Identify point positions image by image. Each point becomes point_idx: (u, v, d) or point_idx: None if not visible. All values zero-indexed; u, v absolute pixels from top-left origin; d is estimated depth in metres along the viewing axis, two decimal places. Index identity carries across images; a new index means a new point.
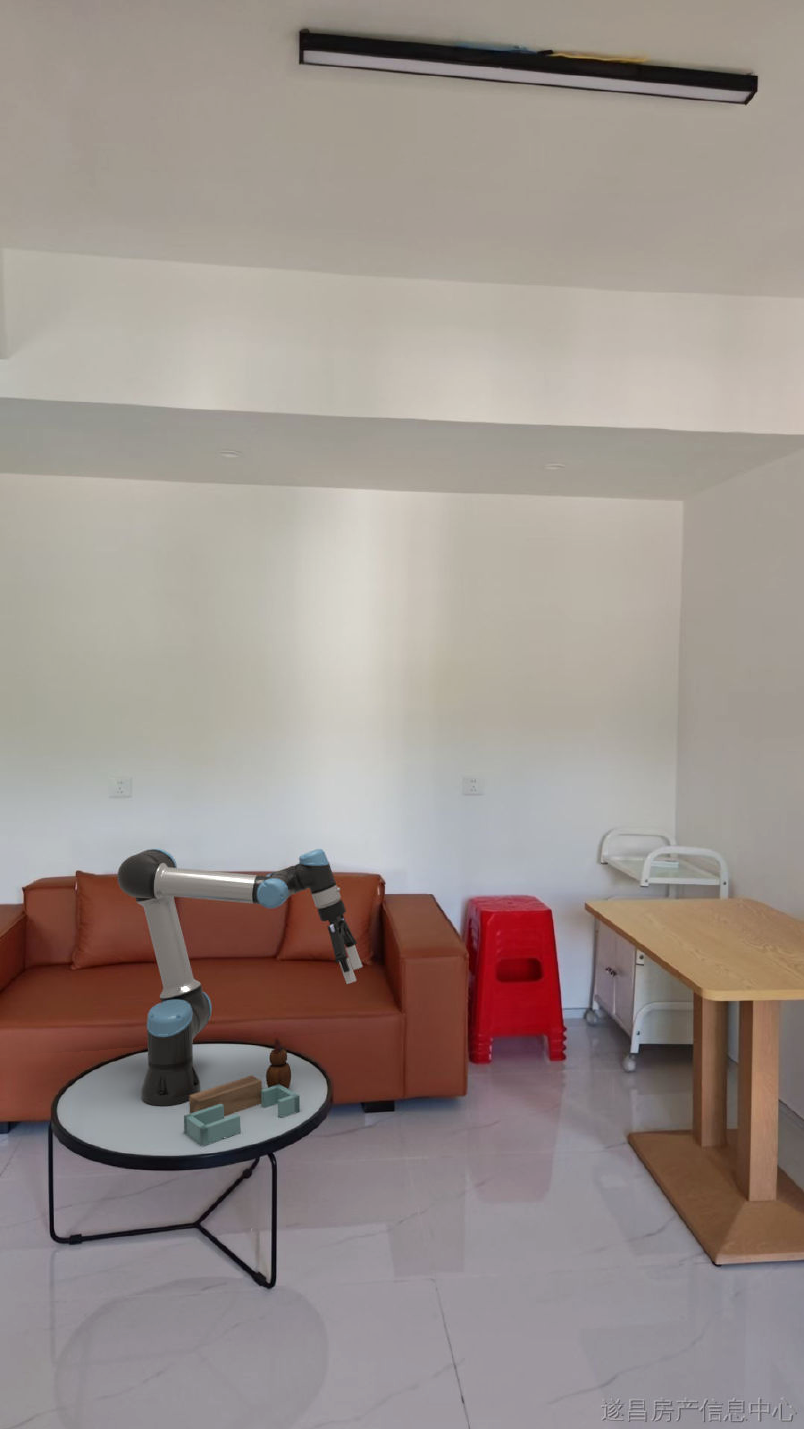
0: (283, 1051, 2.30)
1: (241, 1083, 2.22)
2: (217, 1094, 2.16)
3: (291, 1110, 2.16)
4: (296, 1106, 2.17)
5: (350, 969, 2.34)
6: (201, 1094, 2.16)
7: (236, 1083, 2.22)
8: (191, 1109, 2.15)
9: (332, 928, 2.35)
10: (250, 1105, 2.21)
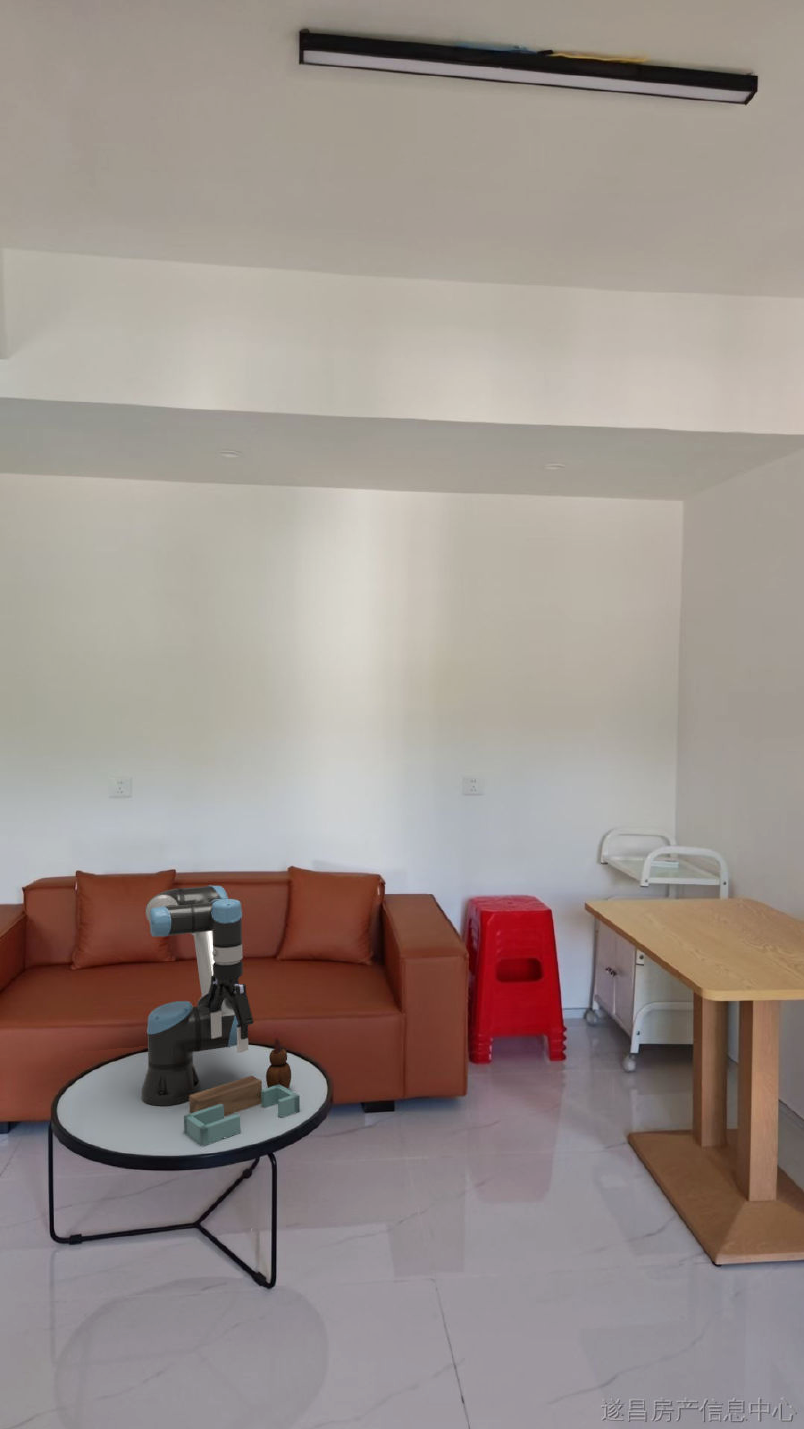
0: (283, 1051, 2.30)
1: (241, 1083, 2.22)
2: (217, 1094, 2.16)
3: (291, 1110, 2.16)
4: (296, 1106, 2.17)
5: None
6: (201, 1094, 2.16)
7: (236, 1083, 2.22)
8: (191, 1109, 2.15)
9: None
10: (250, 1105, 2.21)
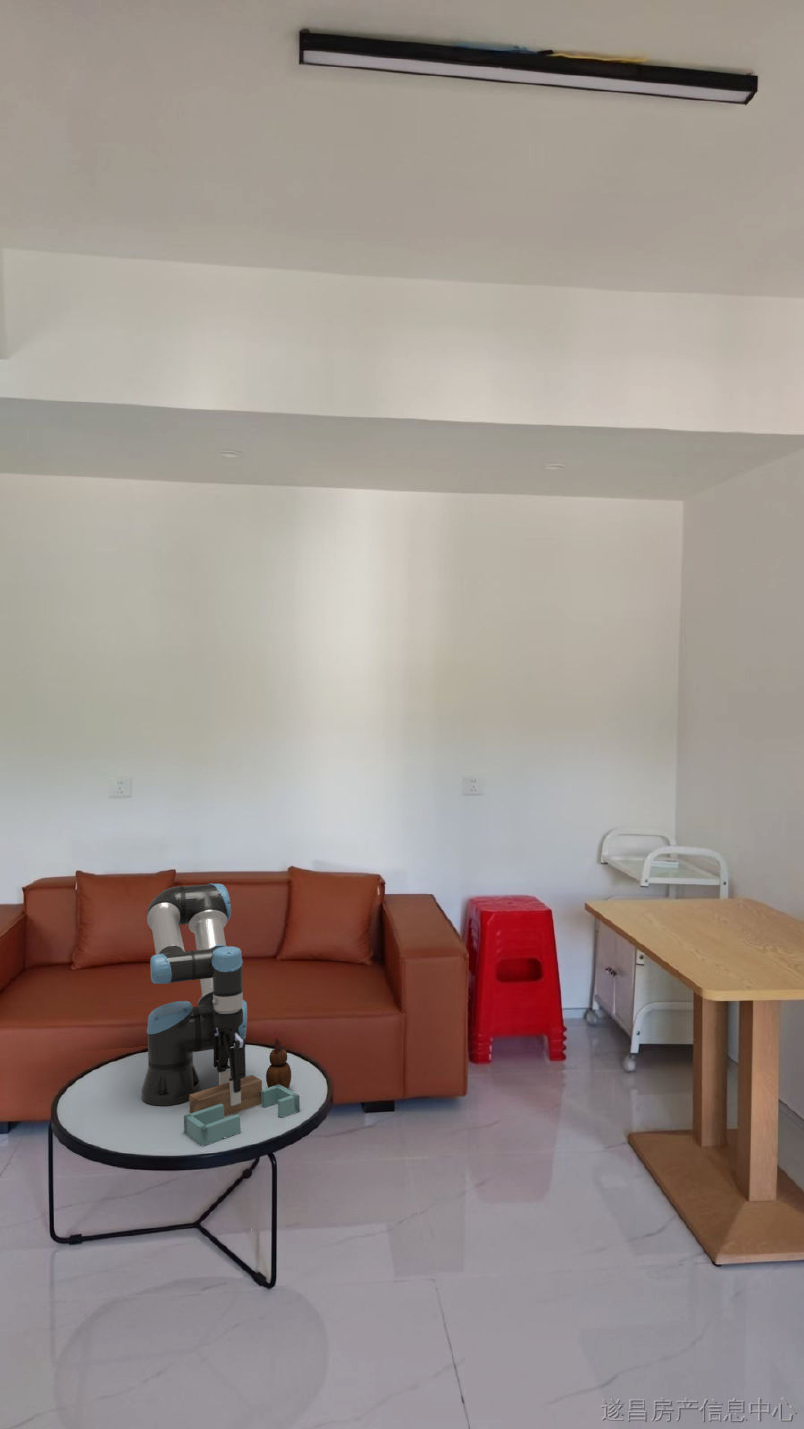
0: (283, 1051, 2.30)
1: (241, 1083, 2.22)
2: (217, 1093, 2.16)
3: (291, 1110, 2.16)
4: (296, 1106, 2.17)
5: None
6: (201, 1093, 2.16)
7: None
8: (191, 1108, 2.15)
9: None
10: (250, 1104, 2.21)
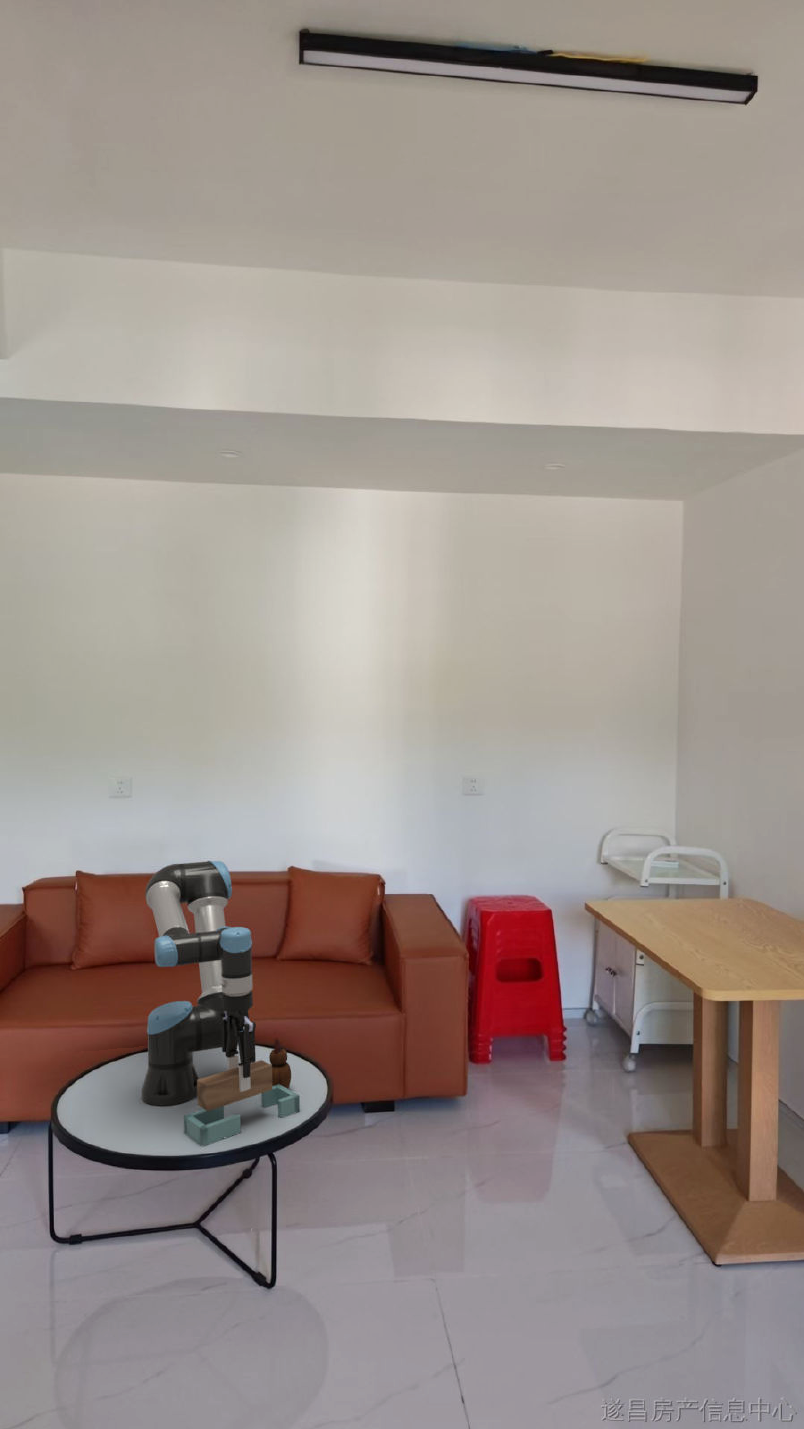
0: (283, 1051, 2.30)
1: (250, 1068, 2.14)
2: (226, 1078, 2.08)
3: (291, 1110, 2.16)
4: (296, 1106, 2.17)
5: None
6: (209, 1078, 2.08)
7: None
8: (199, 1094, 2.07)
9: None
10: (260, 1090, 2.13)
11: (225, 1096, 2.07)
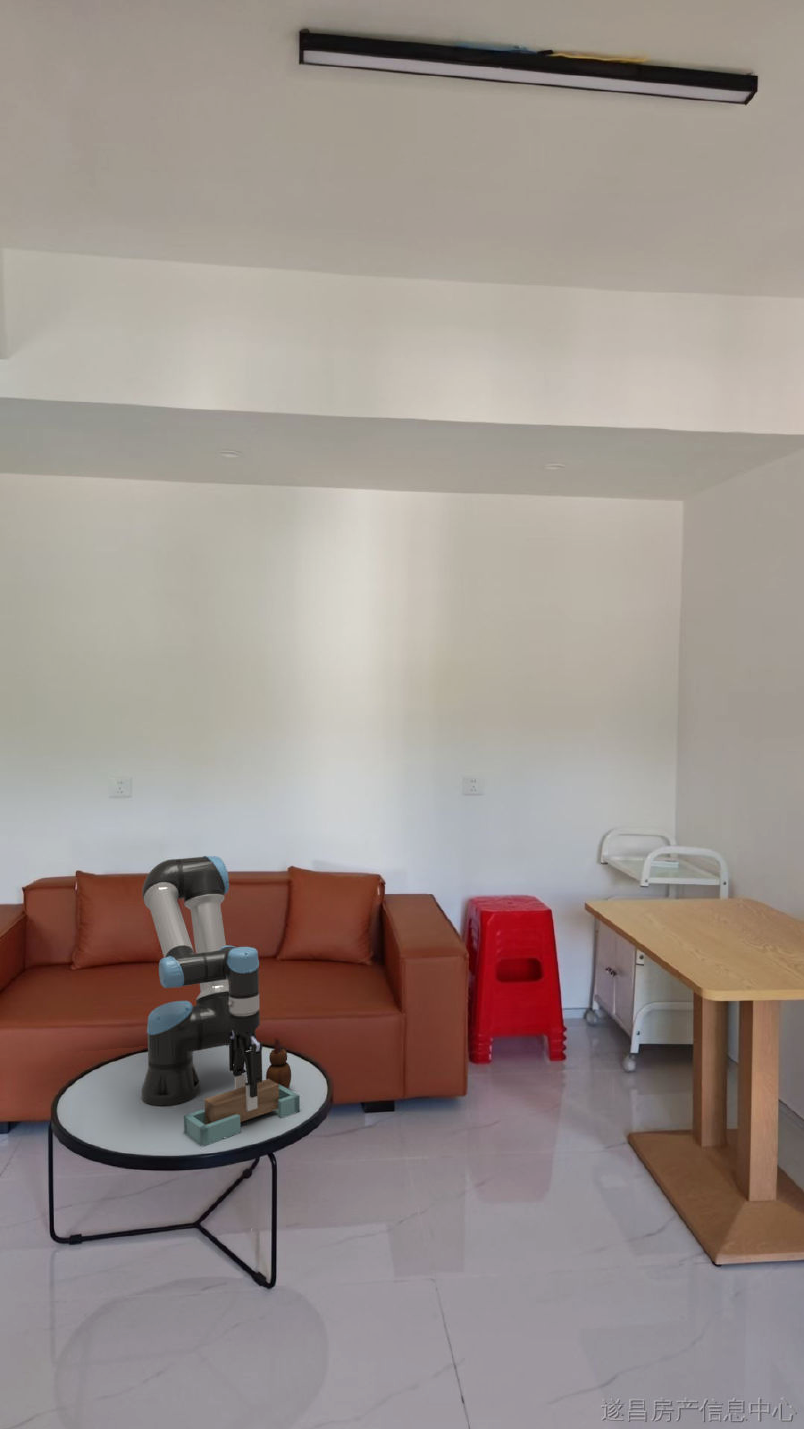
0: (283, 1051, 2.30)
1: (257, 1087, 2.15)
2: (233, 1098, 2.09)
3: (291, 1110, 2.16)
4: (296, 1106, 2.17)
5: None
6: (216, 1097, 2.10)
7: None
8: (206, 1113, 2.08)
9: None
10: (267, 1109, 2.14)
11: (232, 1115, 2.08)
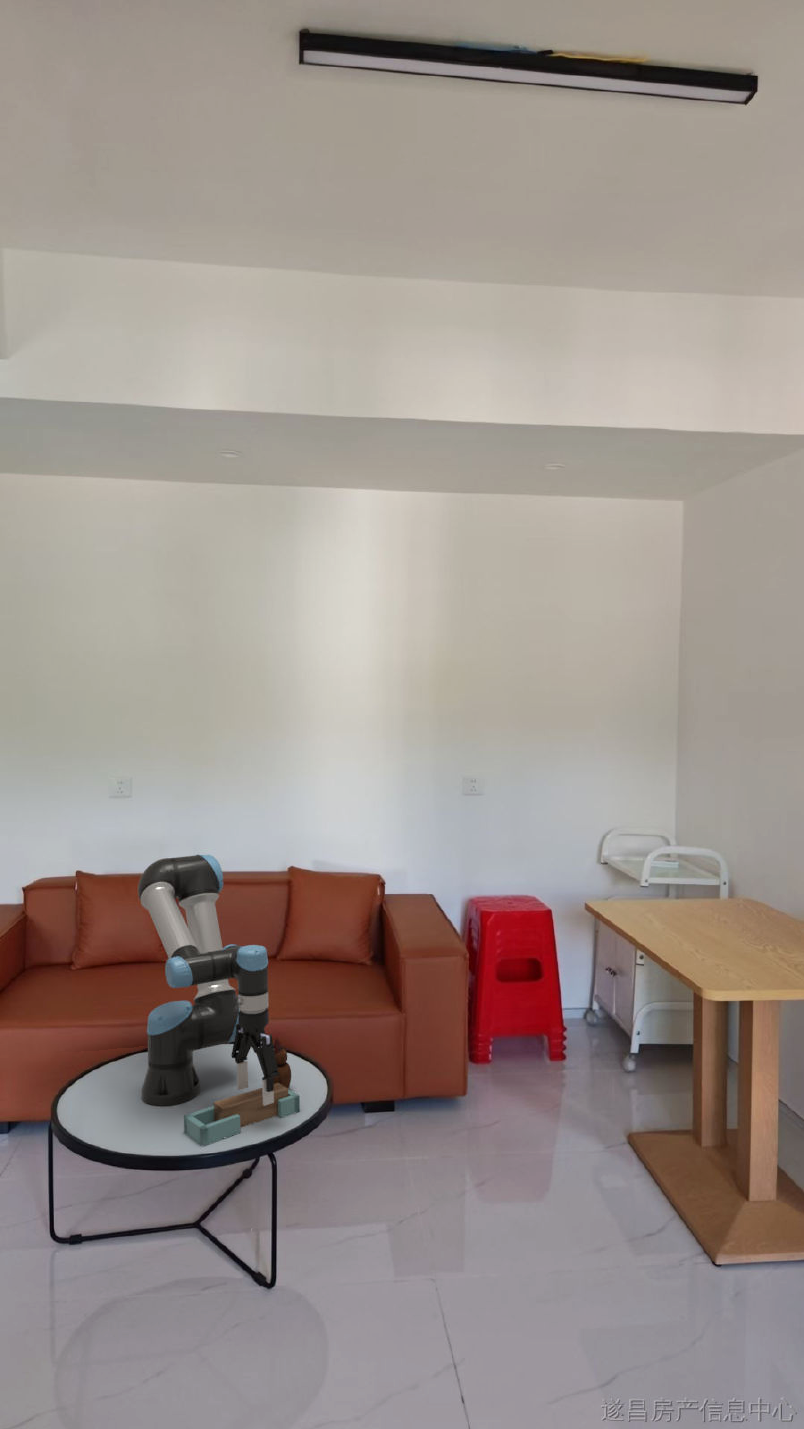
0: (283, 1051, 2.30)
1: None
2: (242, 1102, 2.11)
3: (291, 1110, 2.16)
4: (296, 1106, 2.17)
5: None
6: (226, 1101, 2.12)
7: None
8: (216, 1116, 2.10)
9: None
10: (276, 1113, 2.16)
11: (241, 1119, 2.10)
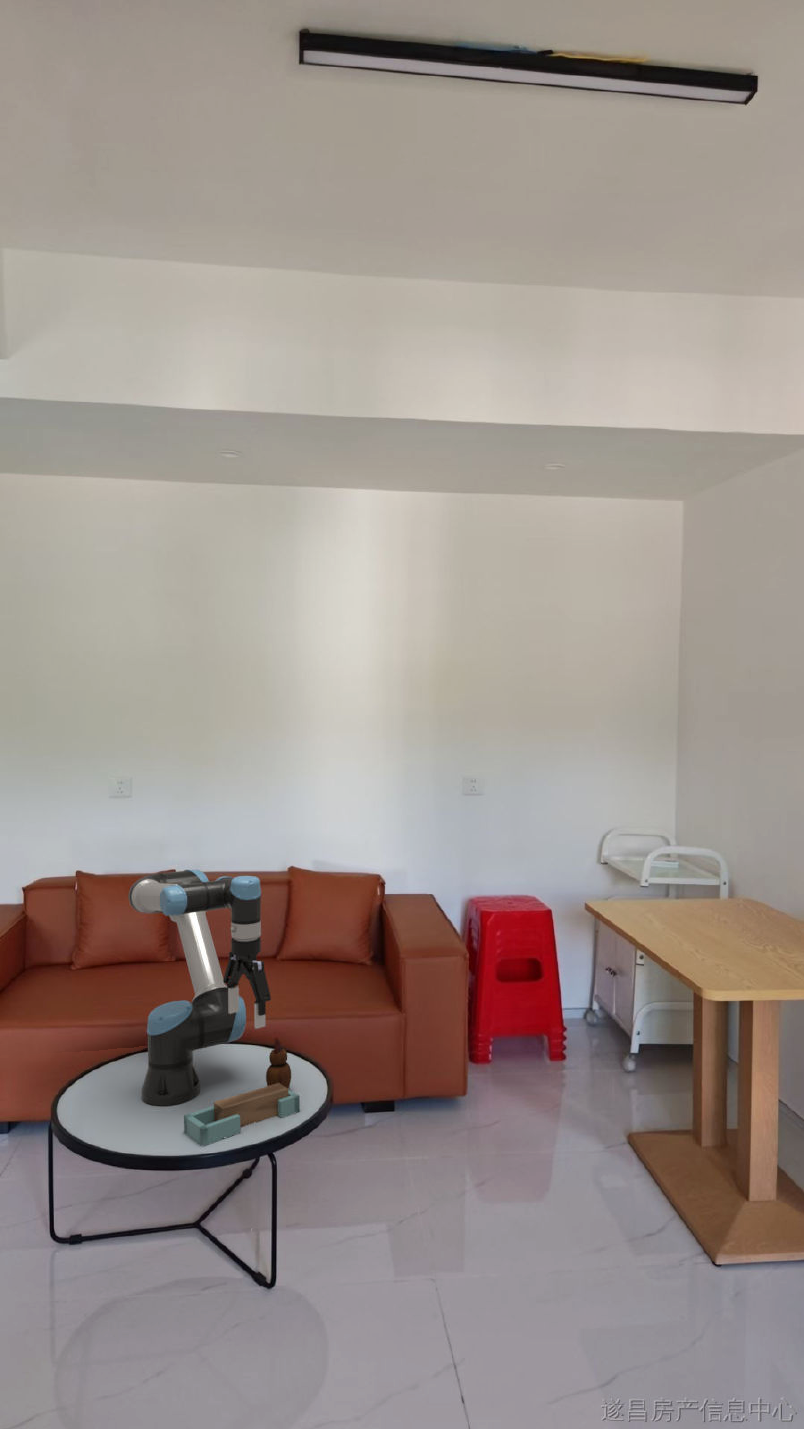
0: (283, 1051, 2.30)
1: (267, 1091, 2.17)
2: (242, 1102, 2.11)
3: (291, 1110, 2.16)
4: (296, 1106, 2.17)
5: None
6: (226, 1100, 2.12)
7: (262, 1090, 2.17)
8: (216, 1116, 2.10)
9: None
10: (276, 1114, 2.16)
11: (241, 1119, 2.10)
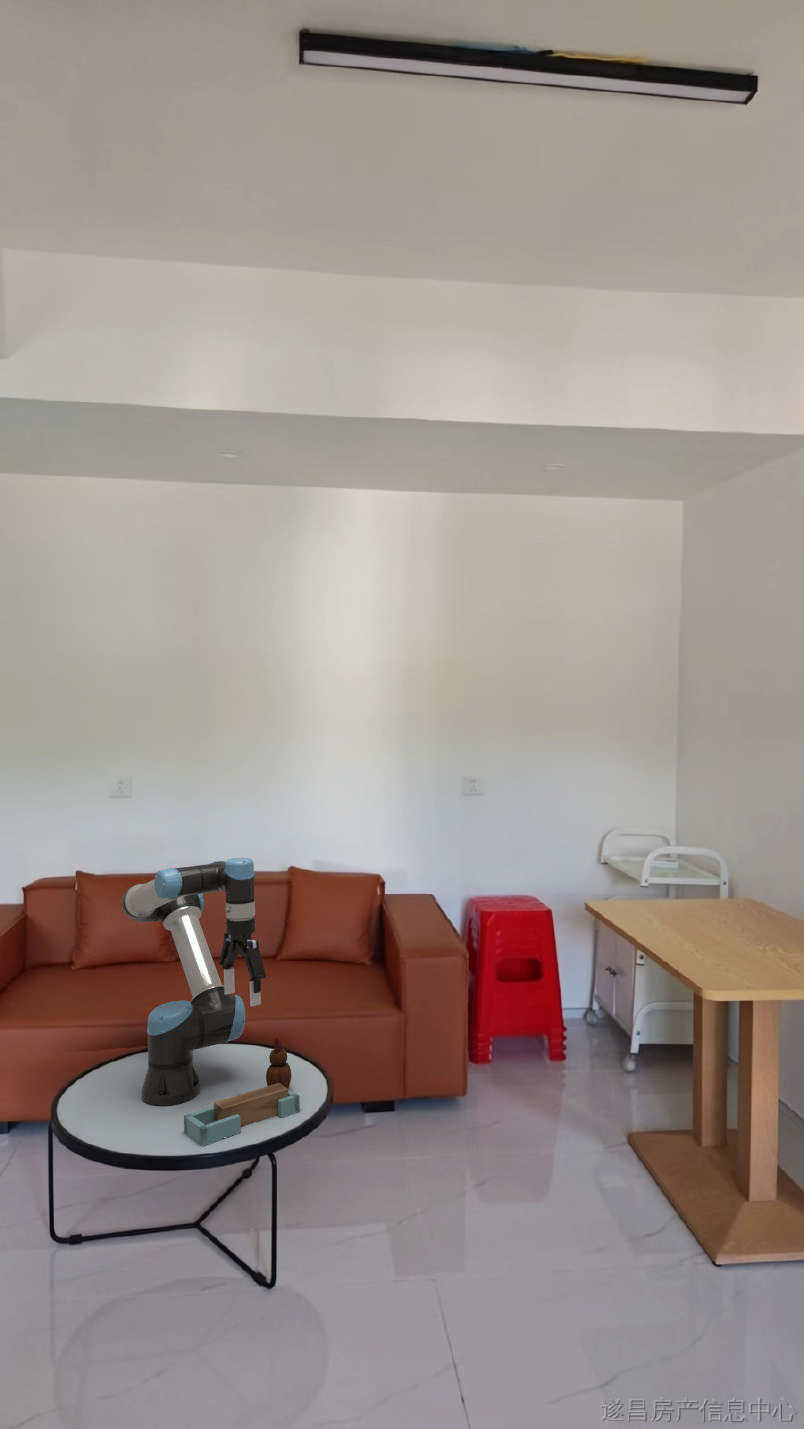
0: (283, 1051, 2.30)
1: (267, 1091, 2.17)
2: (242, 1102, 2.11)
3: (291, 1110, 2.16)
4: (296, 1106, 2.17)
5: None
6: (226, 1100, 2.12)
7: (262, 1091, 2.17)
8: (216, 1116, 2.10)
9: None
10: (276, 1114, 2.16)
11: (241, 1119, 2.10)
